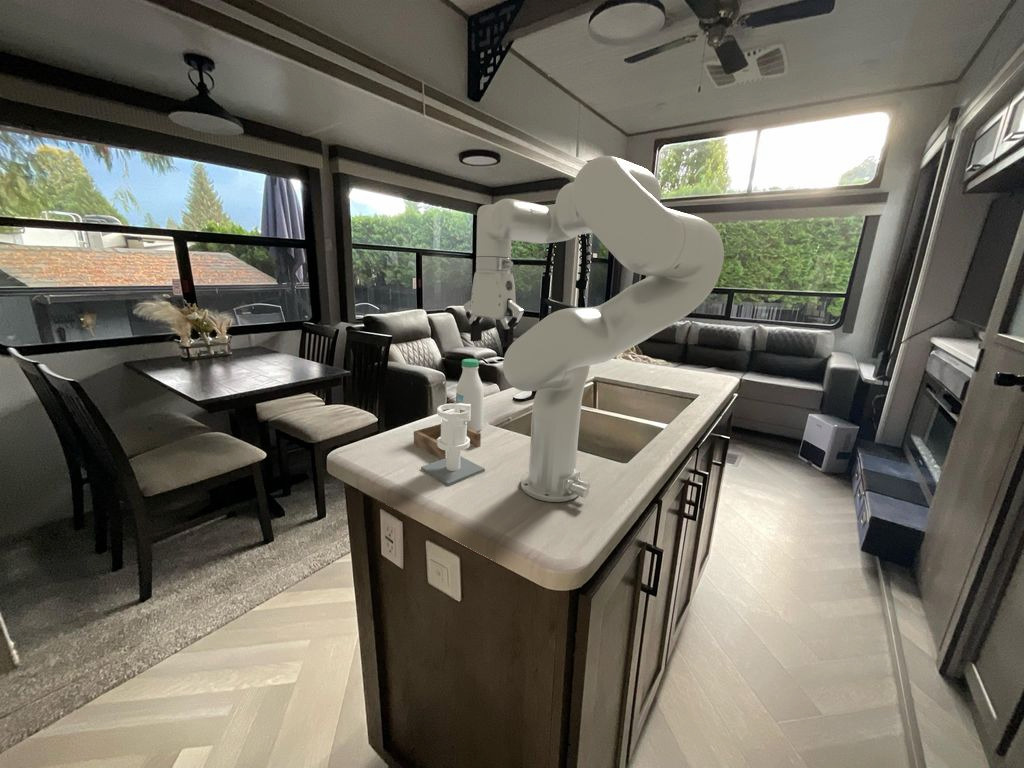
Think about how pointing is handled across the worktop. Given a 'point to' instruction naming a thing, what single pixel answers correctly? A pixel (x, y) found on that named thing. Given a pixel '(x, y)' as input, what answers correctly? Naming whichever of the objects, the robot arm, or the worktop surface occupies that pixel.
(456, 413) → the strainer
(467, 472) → the trivet
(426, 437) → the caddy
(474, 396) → the milk bottle
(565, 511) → the worktop surface
